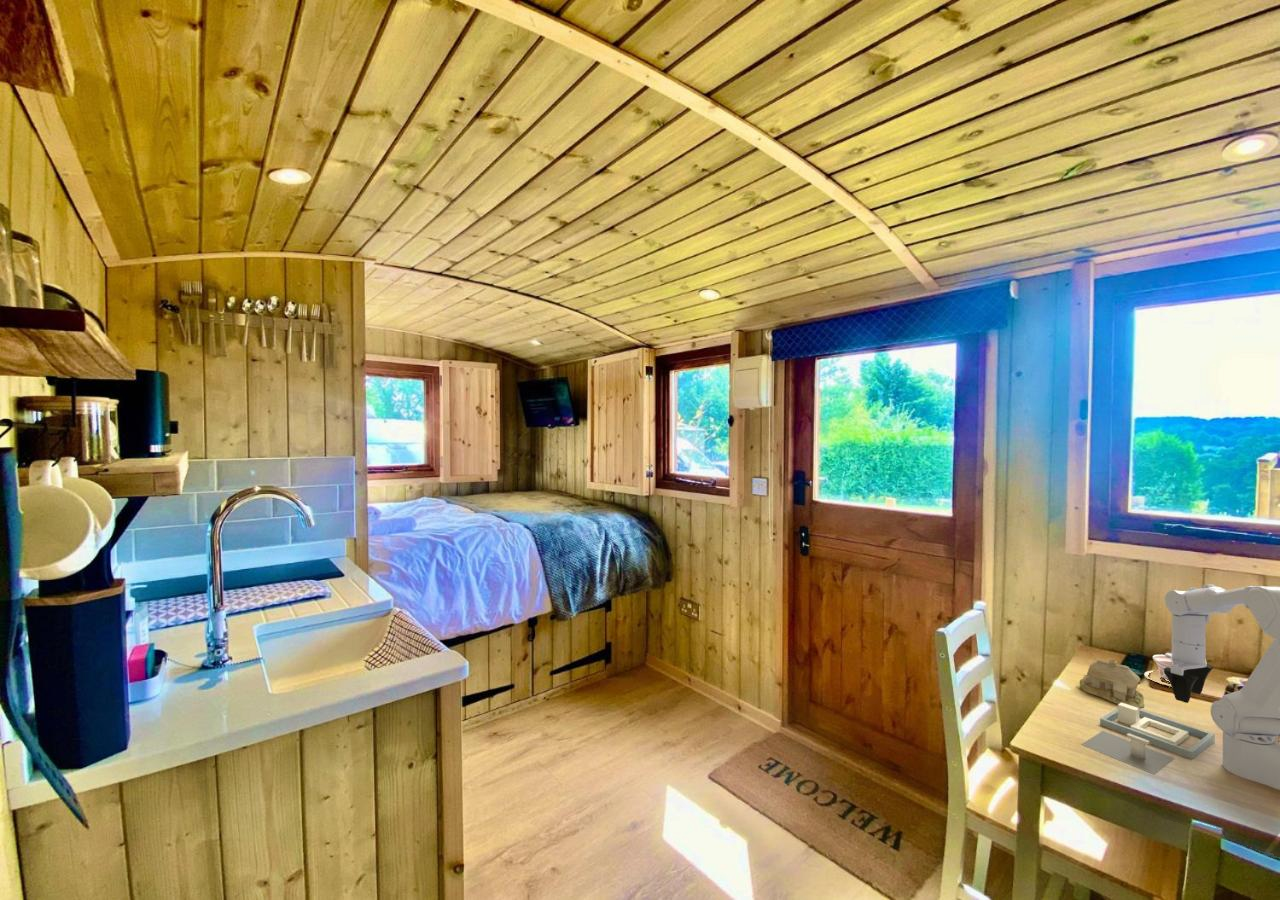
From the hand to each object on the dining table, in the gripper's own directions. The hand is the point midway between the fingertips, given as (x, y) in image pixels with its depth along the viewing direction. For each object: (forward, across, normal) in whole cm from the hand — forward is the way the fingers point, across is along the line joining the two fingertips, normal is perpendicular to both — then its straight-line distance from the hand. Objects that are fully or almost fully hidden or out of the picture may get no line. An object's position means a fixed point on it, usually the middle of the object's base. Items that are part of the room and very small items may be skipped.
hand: (1188, 696), depth 130 cm
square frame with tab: (+9, +7, -5) cm, 12 cm away
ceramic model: (+10, -9, -18) cm, 22 cm away
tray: (+9, +7, -4) cm, 12 cm away
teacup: (+10, -33, -13) cm, 36 cm away
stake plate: (+9, +22, -4) cm, 24 cm away
